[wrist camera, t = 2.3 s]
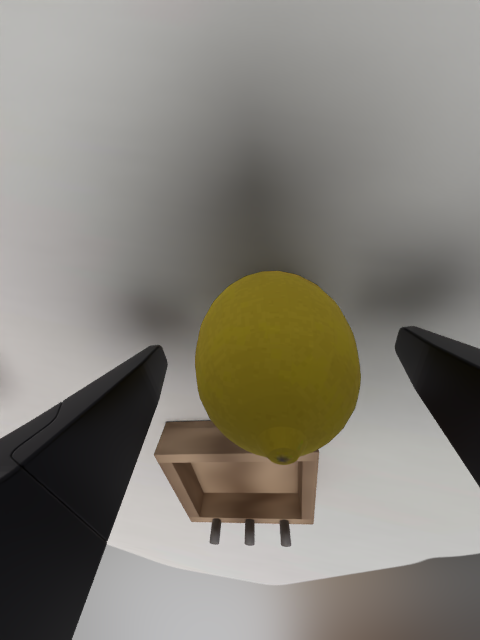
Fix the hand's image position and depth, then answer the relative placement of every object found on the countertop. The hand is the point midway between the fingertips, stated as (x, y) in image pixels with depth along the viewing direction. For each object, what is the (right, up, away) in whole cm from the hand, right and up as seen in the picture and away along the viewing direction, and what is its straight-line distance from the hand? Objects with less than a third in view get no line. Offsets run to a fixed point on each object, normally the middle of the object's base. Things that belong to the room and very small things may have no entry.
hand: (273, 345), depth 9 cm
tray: (-1, -11, +11) cm, 16 cm away
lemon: (0, +2, +3) cm, 4 cm away
